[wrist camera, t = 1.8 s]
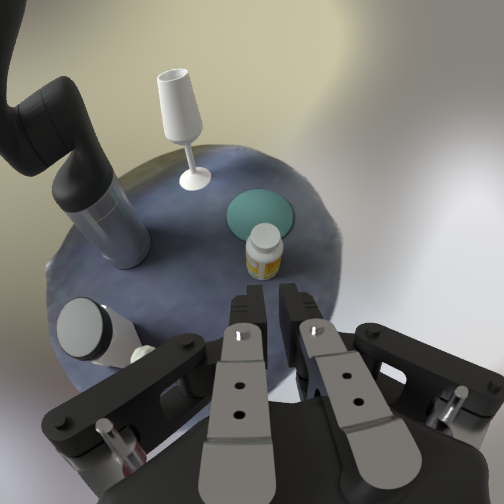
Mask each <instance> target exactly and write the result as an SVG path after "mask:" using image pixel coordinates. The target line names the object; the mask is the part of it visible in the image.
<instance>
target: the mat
mask: <svg viewBox="0 0 504 504" xmlns="http://www.w3.org/2000/svg"><path fill="white" fill-rule="evenodd" d="M227 222H228V225H229V228H230V229H231V231H232V232H233V233H234V234H235V235H236V236H237V237H238V238H240V239H241V240H243V241H246V242H247V239H248V237H249V236H250V235H251V231H252V230H253V228H254V227H255V226H257V225H258V224H261V223H269V224H272V225H274V226H275V227H277V228H278V230H279V232H280V238H282V237H284V236H285V235H286V234H287V233H288V231H289V230H290V228H291V226H292V223H293V211H292V208H291V206H290V204H289V203H288V201H287V200H286V199H285V198H284V197H282V196H281V195H279V194H278V193H276V192H273V191H270V190H265V189H254V190H249V191H246V192H244V193H242V194H240V195H238V196H237V197H236V198H235V199H234V200H233V201H232V202H231V203H230V205H229V207H228V210H227Z"/></svg>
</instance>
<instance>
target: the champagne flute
mask: <svg viewBox="0 0 504 504" xmlns="http://www.w3.org/2000/svg"><path fill="white" fill-rule="evenodd" d="M157 82H158V90H159V97H160V104H161V111H162V118H163V125H164V131H165V135H166V137H167V138H168V139H169V140H170V141H171V142H173V143H175V144H179V145H184V147H185V151H186V155H187V159H188V163H189V167H190V169H189V170H187V171H185V172H184V173H183V174H182V175H181V177H180V185H181V186H182V187H183V188H184V189H186V190H192V191H194V190H199V189H202V188H204V187H205V186H206V185H208V183H209V182H210V180H211V173H210V172H209V171H208V170H207V169H205V168H202V167H195V162H194V158H193V153H192V149H191V143H192V142H193V141H194V140H196V139H197V138H198V136H199V135H200V133H201V131H202V128H203V125H202V120H201V117H200V114H199V110H198V106H197V103H196V99H195V96H194V92H193V88H192V85H191V81H190V78H189V74H188V71H187V70H185V69H173V70H169V71H166V72H164V73H162V74H161V75H159V76H158V78H157Z"/></svg>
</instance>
